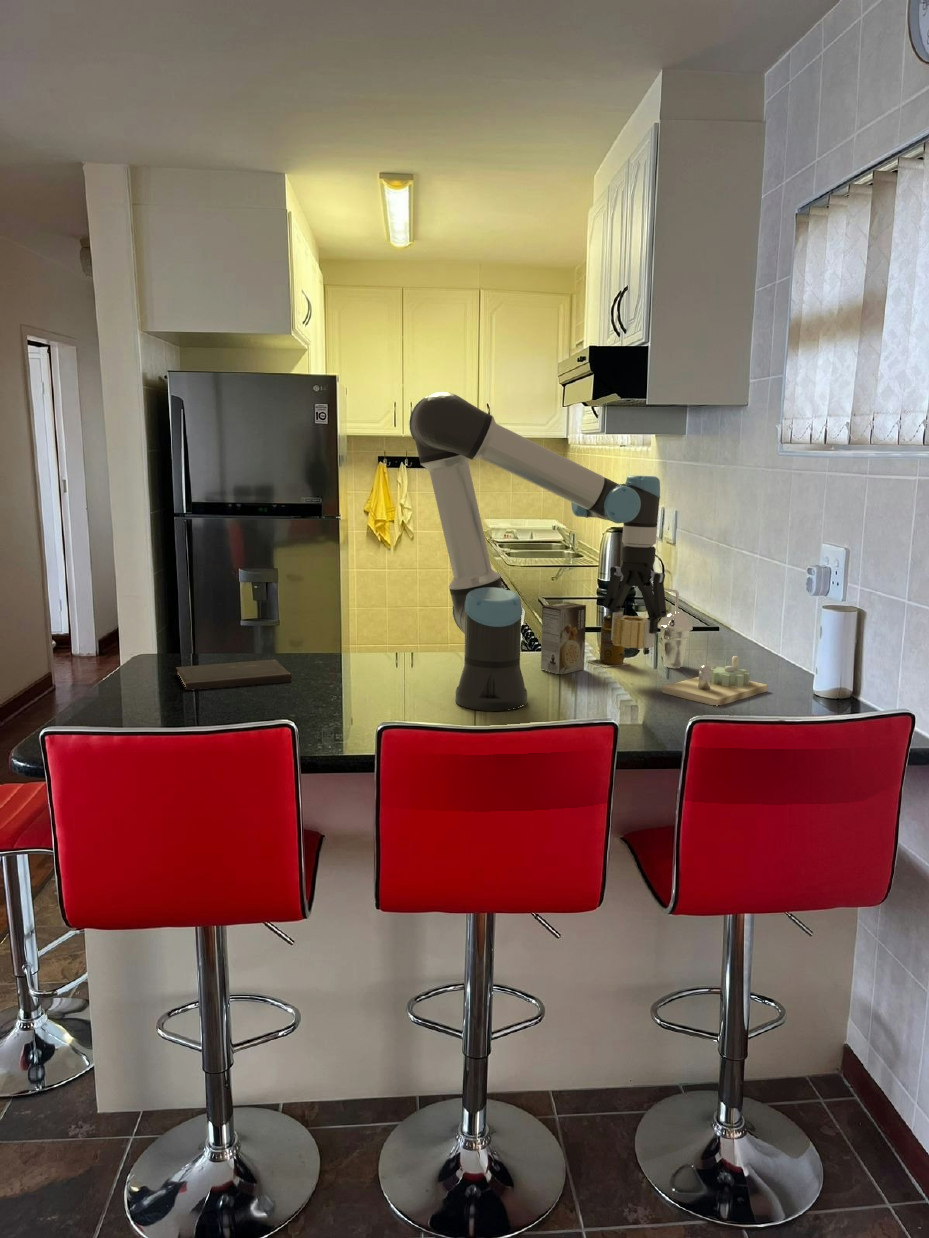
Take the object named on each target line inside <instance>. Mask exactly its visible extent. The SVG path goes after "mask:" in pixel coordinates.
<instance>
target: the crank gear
mask: <svg viewBox="0 0 929 1238" xmlns="http://www.w3.org/2000/svg"><path fill="white" fill-rule="evenodd" d="M739 659H740V657H739V656H737V655H734V656H732V658H731V665H725V666H724V667H723V666H714V667H715V668H712V667H710V668H711V683H713V684H721V685H722V686H727V687H728V686H737V687H743V684H744V685H748V684H749V681H750V674H751V673H750V672H748V670H747V669H741V668H740V669H739Z"/></svg>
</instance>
